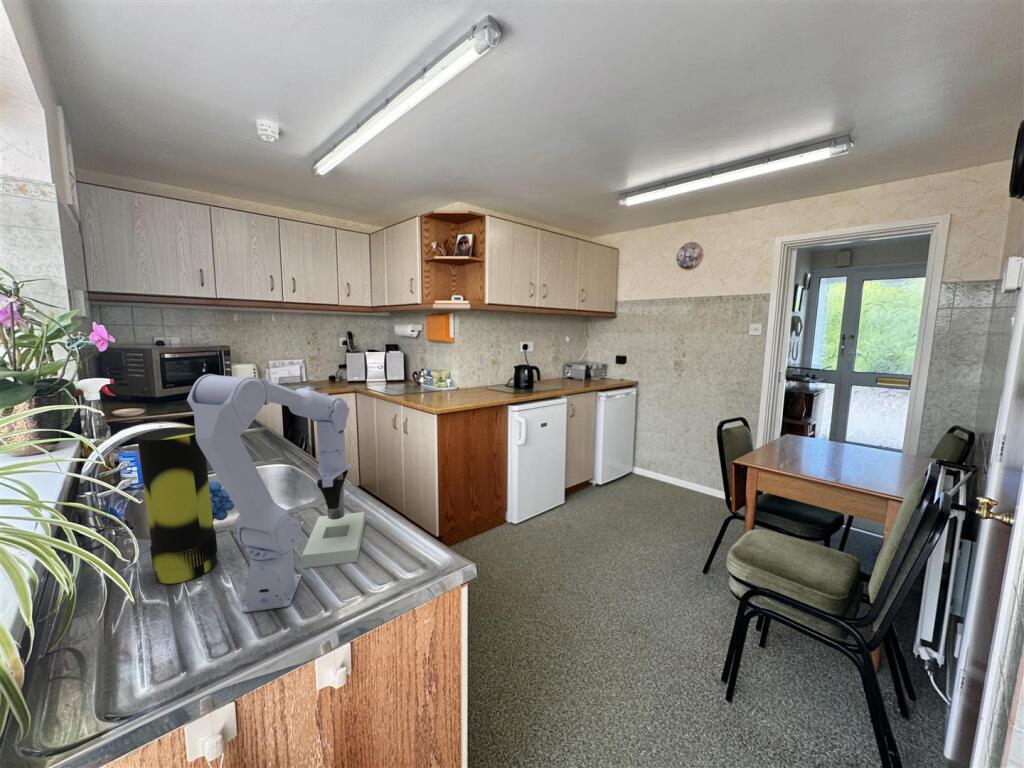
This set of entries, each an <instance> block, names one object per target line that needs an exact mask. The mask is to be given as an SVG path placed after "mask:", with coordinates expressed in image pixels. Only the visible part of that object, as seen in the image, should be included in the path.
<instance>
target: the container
mask: <svg viewBox="0 0 1024 768" xmlns="http://www.w3.org/2000/svg"><path fill="white" fill-rule="evenodd" d="M136 440H137V447H138V448H137V449H138V455H139V461H140V469H141V475H142V476H141V477H142V483H143V484H142V485H143V491H144V492H143V493H144V499H145V506H146V514H147V522H148V529H149V538H150V544H151V545H150V547H149V548H150V549H149V550H150V556H151V563H152V570H154V573H155V574H154V575H155V579H156V581H157V582H159V583H162V584H170V585H171V584H173V585H174V584H179V583H185V582H188V581H192V580H194V579H197V578H198V577H202V576H203V575H205V574H206V573H208V572H209V571H211V570H212V569H213V568H214V567H215V566H216V564H217V562H218V557H217V556H218V555H217V554H218V553H217V552H218V543H217V532H216V529H215V528H214V521H213V517H212V508H211V499H210V489H209V483H210V482H209V473H208V472H209V470H208V465H207V464H208V463H207V462H208V461H207V458H206V457H205V455H204V453H203V452H202V450H201V448H200V447H199V445H198V443H197V441H196V434H195V425H186V426H183V425H181V426H171V427H165V428H163V427H162V428H159V429H153V430H149V431H146V432H142V433H141V434H139V435H137V437H136Z"/></svg>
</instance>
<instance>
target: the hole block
mask: <svg viewBox="0 0 1024 768" xmlns="http://www.w3.org/2000/svg"><path fill="white" fill-rule="evenodd" d="M365 514H366V513H365V511H361V512H360V511H359V512H352V513H350V512H349V513H345V515H344V517H342V518H340V519H335V520H332V519H329V518H328V515H320V516H318V518H317V520H316V522H315V524H314V527H313V529H312V531H311V533H310V535H309V538H308V540H307V543H306V546H305V548H304V549H303V552H302V554H301V563H302V569H308V568H317V567H324V566H325V567H327V566H332V565H334V566H335V565H342V564H350V563H356V562H357V563H358V560H359V555H360V549H361V544H362V539H363V535H362V534H364V530H363V529H365V525H364V524H365V523H366V520H365V519H366V517H365Z"/></svg>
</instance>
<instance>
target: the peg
mask: <svg viewBox="0 0 1024 768" xmlns="http://www.w3.org/2000/svg"><path fill="white" fill-rule="evenodd" d="M336 478H337V480H341V479H343V474H340V475H339V476H337V477H336ZM344 489H345V488H344V485H342V488H341V493H340V501H339V506H338V508H337V509H328V508H327V516H328V518H329V519H332V520H335V519H340V518H342V517H344V515H345V514H346V512H345V495H344V493H345V492H344V491H345V490H344Z"/></svg>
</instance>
